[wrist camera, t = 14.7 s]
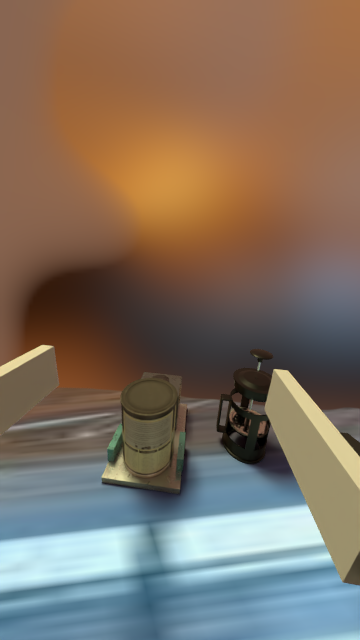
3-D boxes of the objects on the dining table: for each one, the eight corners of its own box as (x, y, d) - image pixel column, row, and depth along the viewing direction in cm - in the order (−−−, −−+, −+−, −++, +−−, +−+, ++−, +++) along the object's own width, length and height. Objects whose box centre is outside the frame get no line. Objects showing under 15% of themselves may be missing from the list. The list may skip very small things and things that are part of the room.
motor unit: (187, 408, 54) (190, 372, 50) (180, 494, 34) (185, 444, 30) (136, 402, 55) (136, 366, 52) (100, 482, 35) (97, 432, 31)
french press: (261, 430, 48) (281, 345, 41) (274, 468, 39) (302, 368, 32) (214, 422, 49) (226, 339, 43) (215, 458, 40) (231, 359, 34)
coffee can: (115, 444, 40) (112, 387, 36) (158, 423, 46) (160, 372, 42) (134, 491, 33) (134, 424, 28) (183, 459, 38) (189, 400, 34)
